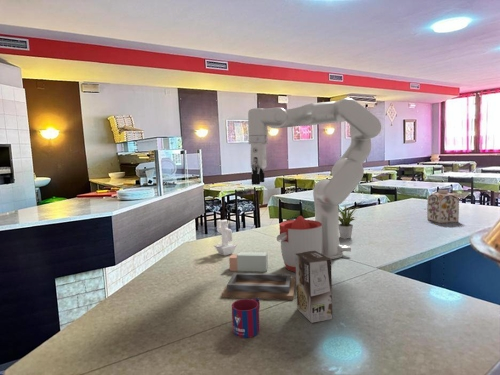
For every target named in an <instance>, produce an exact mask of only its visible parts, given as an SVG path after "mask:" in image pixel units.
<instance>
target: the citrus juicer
mask: <svg viewBox="0 0 500 375" xmlns="http://www.w3.org/2000/svg"><path fill="white" fill-rule="evenodd" d="M278 226H279V234H278V235H277V236H276V241H277V242H279V243H280V250H281V256H282V260H283V263H284V266H285V268H286V270H289V271H290V272H295V273H296V260H295V254H297V253H303V252H308V251H317V252H319V253H320V254H321V250H322V240H321V226H322V223H320V222H318V221H315V220H314V219H313V220H312V219H305V217H303V216H302V215H299V216H297V218H296V219H292V220H291V219H290V220H286V221H285V220H284V221H282V222H280V223H279V225H278Z"/></svg>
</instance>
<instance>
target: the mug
mask: <svg viewBox="0 0 500 375" xmlns="http://www.w3.org/2000/svg"><path fill="white" fill-rule="evenodd" d="M231 321H232V322H231V323H232V333H233V335H235V337H238V338H242V339H243V338H244V339H247V338H252V337H253V338H254V337H255V336H256V335H259V333H260V328H261V327H260V326H261V325H260V298H240V299H238V300H235V301H233V302H232V304H231Z"/></svg>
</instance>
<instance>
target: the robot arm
mask: <svg viewBox="0 0 500 375" xmlns="http://www.w3.org/2000/svg"><path fill="white" fill-rule="evenodd" d="M247 117H248V118H247V124H248V126H247V127H248V128H247V129H248V134H247V135H248V142H247V143H248V145H250V168H251V185H260V184H261V183H264V182H265V169H266V168H267V166H268V165H267V147H266V146H267V144H268V127H269V128H271V129H283V128H291V127H293V128H295V127H303V126H304V127H308V126H316V125H317V126H318V125H325V124H335V123H336V124H337V123H343V122H345V123H347V124H349V125H350V126H349V135H350V138H351V140H350V145H349V146H348V148H346V150H345V151H344V153H343V154H342V155H341V157H340V158H339V159H338V160H337V161H336V162H335V163H334V164H333V166H332V168H331V175H332V177H331V178H330V179H327V178H325V179H321V180H318V181H317V182H316V183H315V185H314V187H313V190H312V192H313V193H312V194H313V203H314V221H318V222H320V223H322V226H321V240H322V250H321V254H322V255H324V256H326V257H328V258H330V259H331V260H335V259H339V258H342V257H343V256H344V252H352V247H351V246H348V245H341V244H340V233H339V224H340V221H339V216H340V212H339V210H340V209H339V207H338V206H339V205H340V204H342V203H344V201H345V200H346V199H347V198H348V197H349V196H350V195H351V194H352V192H353V191H354V190H355V189H356V188H357V186H358V185H359V184H360V183H361V181H362V180H363V176H364V172H365V170H364V166H363V164H364V163H365V161H366V160H367V159H368V157H369V156H370V153H371V151H372V139H374V138H376V137H377V136H378V135H380V133H381V131H382V123H381V120H380V119H379V118H378V117H377V116H376V115H374V114H373V113H372V112H371V111H370V110H369V109H367V108H366V107H364V106H363V105H362V104H361V103H360V102H358V101H357V100H355V99H353V98H350V97H343V98H342V99H339V100H334V101H324V102H323V101H322V102H313V103H308V104H304V105H302V106H298V107H294V108H287V109H284V108H283V107H280V106H279V107H270V108H268V107H267V108H263V107H262V108H261V107H255V108H253V107H252V108H250V109H249V110H248V112H247ZM338 209H339V210H338Z"/></svg>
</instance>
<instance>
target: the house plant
mask: <svg viewBox="0 0 500 375" xmlns="http://www.w3.org/2000/svg"><path fill="white" fill-rule="evenodd" d="M339 208H340V206H339V205H338V210H339V238H341V239H345V238H348V239H351V238H352V234H353V228H354V227H353V226H354V225H353V224H352V223H351V222H353V221H356V219H357V217H355V216H353V215H354V214H355V212H357V210H356V209H358V208H360V206H357V207H354V206H353V207H351V209H350V208H347V206H346V205H345V206H344V209H342V208H340V209H339ZM352 208H354V209H352ZM350 210H352V211H350Z"/></svg>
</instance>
